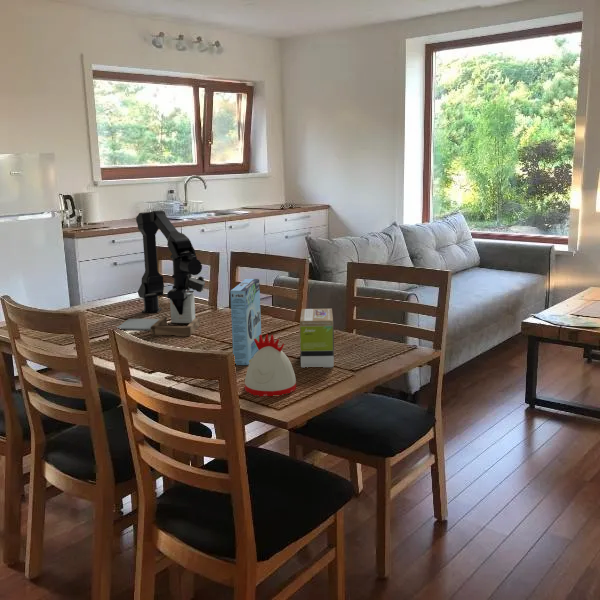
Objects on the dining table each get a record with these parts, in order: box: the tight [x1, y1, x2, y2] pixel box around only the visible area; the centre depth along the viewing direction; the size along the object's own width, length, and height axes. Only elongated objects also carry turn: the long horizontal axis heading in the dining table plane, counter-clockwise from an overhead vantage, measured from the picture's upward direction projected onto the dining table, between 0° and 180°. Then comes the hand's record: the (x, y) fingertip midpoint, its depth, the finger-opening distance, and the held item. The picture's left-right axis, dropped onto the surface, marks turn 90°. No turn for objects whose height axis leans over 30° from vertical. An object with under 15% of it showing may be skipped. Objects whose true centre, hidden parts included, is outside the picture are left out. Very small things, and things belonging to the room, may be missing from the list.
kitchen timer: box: [244, 333, 297, 397], centre depth 179 cm, size 14×14×15 cm
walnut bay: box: [150, 316, 201, 337], centre depth 239 cm, size 14×14×3 cm
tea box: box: [299, 308, 335, 369], centre depth 202 cm, size 15×10×15 cm
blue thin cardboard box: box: [229, 278, 262, 366], centre depth 206 cm, size 20×5×23 cm, turn 171°
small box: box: [169, 292, 196, 324], centre depth 248 cm, size 8×6×10 cm
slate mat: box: [116, 318, 161, 331], centre depth 247 cm, size 14×14×1 cm
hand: (183, 312), depth 249 cm, fingers closed on small box, 6 cm apart
